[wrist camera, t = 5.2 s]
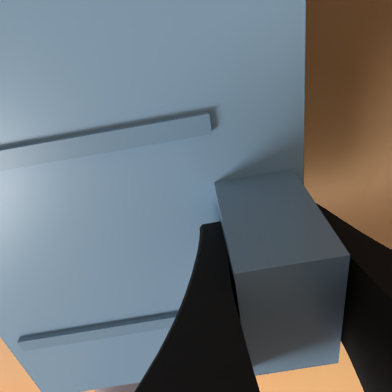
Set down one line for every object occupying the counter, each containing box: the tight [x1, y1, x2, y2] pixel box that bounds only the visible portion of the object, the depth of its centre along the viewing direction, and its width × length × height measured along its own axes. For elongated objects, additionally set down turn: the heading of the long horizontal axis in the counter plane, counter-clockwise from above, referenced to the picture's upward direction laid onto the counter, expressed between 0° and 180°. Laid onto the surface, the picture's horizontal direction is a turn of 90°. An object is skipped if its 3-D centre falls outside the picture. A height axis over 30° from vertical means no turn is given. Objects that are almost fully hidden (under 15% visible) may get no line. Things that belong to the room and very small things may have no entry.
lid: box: [0, 0, 350, 392], centre depth 11 cm, size 16×12×5 cm
